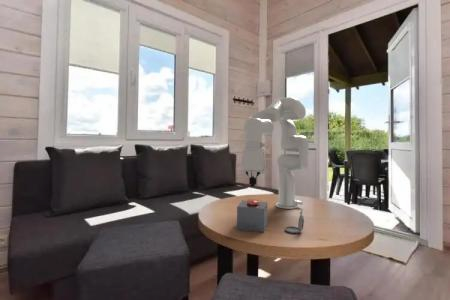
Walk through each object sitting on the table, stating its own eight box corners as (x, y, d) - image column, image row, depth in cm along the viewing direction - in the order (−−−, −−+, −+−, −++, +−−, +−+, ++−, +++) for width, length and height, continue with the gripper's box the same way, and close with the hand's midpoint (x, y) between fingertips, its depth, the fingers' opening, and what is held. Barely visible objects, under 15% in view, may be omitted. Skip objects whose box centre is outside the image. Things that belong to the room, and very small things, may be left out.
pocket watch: (283, 228, 113) (283, 206, 112) (301, 228, 114) (301, 206, 113) (289, 235, 105) (289, 211, 104) (308, 235, 105) (309, 211, 105)
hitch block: (267, 223, 119) (267, 202, 119) (264, 232, 108) (264, 208, 107) (242, 221, 123) (242, 200, 122) (236, 229, 111) (237, 206, 111)
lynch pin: (259, 224, 117) (259, 199, 117) (257, 228, 112) (258, 202, 111) (247, 223, 119) (247, 199, 118) (245, 227, 113) (245, 201, 113)
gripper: (270, 145, 115) (270, 185, 116) (238, 145, 119) (238, 183, 120) (269, 146, 108) (268, 188, 109) (235, 145, 112) (234, 186, 113)
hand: (252, 186), depth 114 cm, fingers closed
